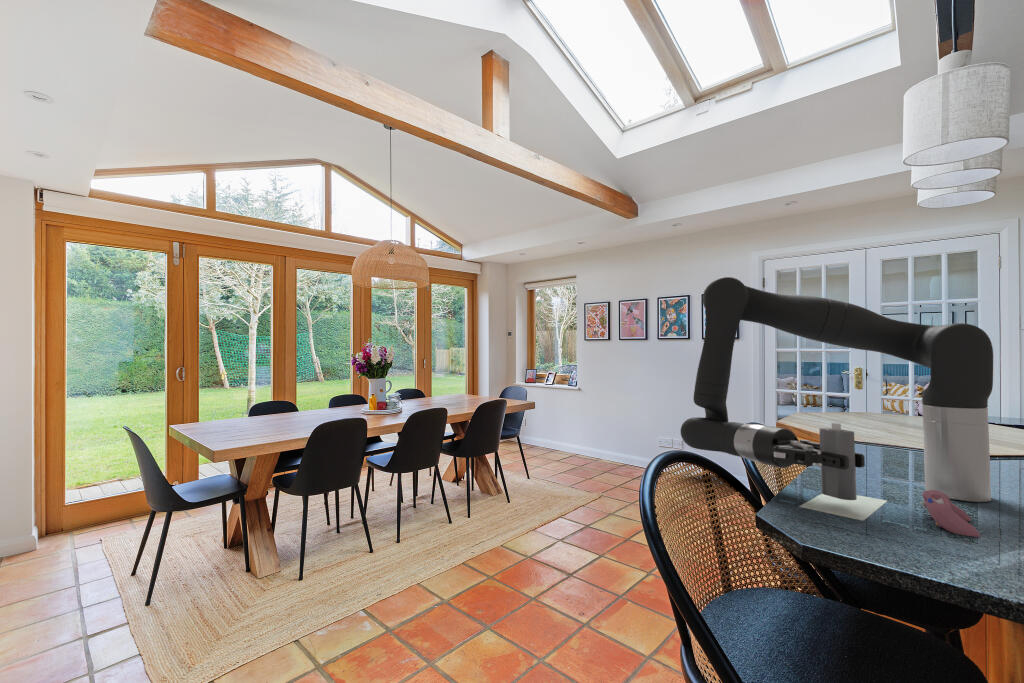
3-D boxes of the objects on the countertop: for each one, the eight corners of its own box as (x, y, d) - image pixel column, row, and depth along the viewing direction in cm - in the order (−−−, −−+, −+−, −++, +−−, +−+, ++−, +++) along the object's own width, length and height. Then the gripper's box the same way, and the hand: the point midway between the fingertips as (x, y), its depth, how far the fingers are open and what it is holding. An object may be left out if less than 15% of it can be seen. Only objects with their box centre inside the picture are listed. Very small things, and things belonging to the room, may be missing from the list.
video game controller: (939, 530, 75) (912, 488, 77) (974, 523, 72) (945, 480, 75) (946, 550, 67) (916, 502, 69) (985, 542, 65) (953, 493, 67)
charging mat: (828, 495, 89) (828, 489, 89) (887, 506, 82) (887, 500, 82) (799, 512, 79) (798, 506, 79) (863, 526, 72) (863, 520, 72)
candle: (817, 492, 80) (814, 421, 80) (830, 490, 81) (827, 421, 81) (848, 501, 75) (845, 425, 75) (861, 499, 76) (858, 424, 77)
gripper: (737, 427, 89) (824, 442, 73) (790, 423, 94) (882, 436, 78) (738, 466, 89) (826, 489, 73) (791, 460, 94) (884, 481, 78)
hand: (854, 462), depth 76 cm, fingers closed on candle, 3 cm apart
